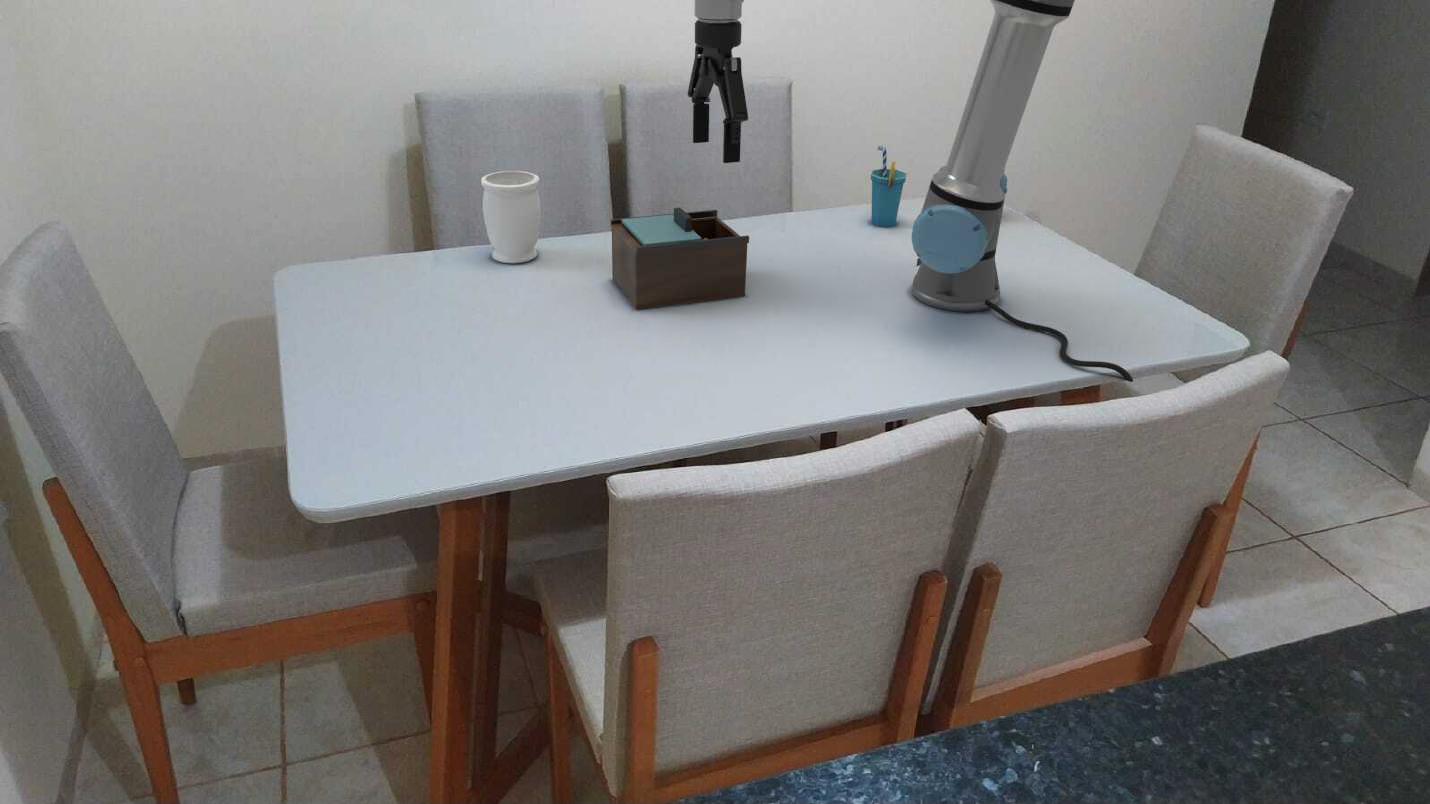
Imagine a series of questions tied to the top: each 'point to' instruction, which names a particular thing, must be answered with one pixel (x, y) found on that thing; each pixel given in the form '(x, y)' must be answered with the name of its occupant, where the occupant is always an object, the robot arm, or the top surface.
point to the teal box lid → (662, 228)
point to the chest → (680, 264)
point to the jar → (512, 214)
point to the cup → (886, 193)
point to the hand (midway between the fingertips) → (715, 152)
